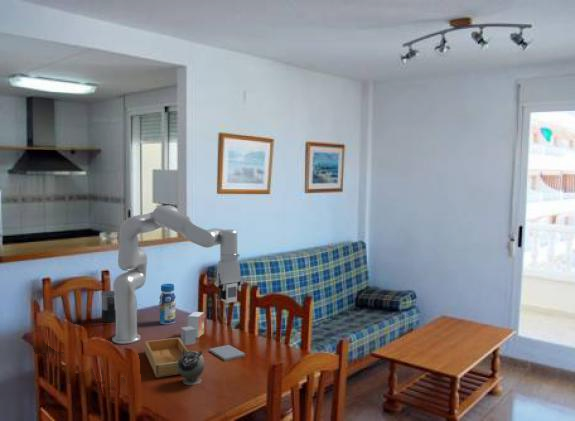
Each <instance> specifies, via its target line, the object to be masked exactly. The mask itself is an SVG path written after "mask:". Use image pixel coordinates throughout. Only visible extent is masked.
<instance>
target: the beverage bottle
mask: <svg viewBox="0 0 575 421" xmlns="http://www.w3.org/2000/svg"><path fill="white" fill-rule="evenodd" d="M160 291H161V293H160V295H159V323H160V324H161V325H171V324H174V323H176V303H177V302H176V294H175V293H174V291H175V284H173V283H162V284H161V285H160Z"/></svg>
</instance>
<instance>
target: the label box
mask: <svg viewBox="0 0 575 421" xmlns="http://www.w3.org/2000/svg"><path fill="white" fill-rule="evenodd" d="M225 291H226V300H224V299H220V301H222V302H224V303H226V304H229V303H234V302H237V301H238V289H237V283H229V284H226V287H225Z"/></svg>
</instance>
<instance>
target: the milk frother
mask: <svg viewBox="0 0 575 421" xmlns="http://www.w3.org/2000/svg"><path fill="white" fill-rule="evenodd" d="M100 295H101V322H104V323H111V322H112V323H114V322H116V306H115V293H114V290H106V291H102V292H101V293H100Z"/></svg>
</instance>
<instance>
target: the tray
mask: <svg viewBox="0 0 575 421" xmlns="http://www.w3.org/2000/svg"><path fill="white" fill-rule="evenodd" d="M186 346H187V345H184V343H183V342H182V340H181V337H173V338H171V337H169V338H163V339H157V340H156V339H155V340H146V341H145V342H144V351H145V355H146V357H147V359H148V362H149V364H150V367H151V368H152V370H153V373H154V376H155V377H156V379H157V378H164V377H169V376H170V377H171V376H178V375H180V373H179V371H178V368H177V364H178V360H179V358H180V357H181V356H182V355H183V350H184V349H185V350H186V351H187V352H188V351H189V350H188V347H186Z"/></svg>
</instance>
